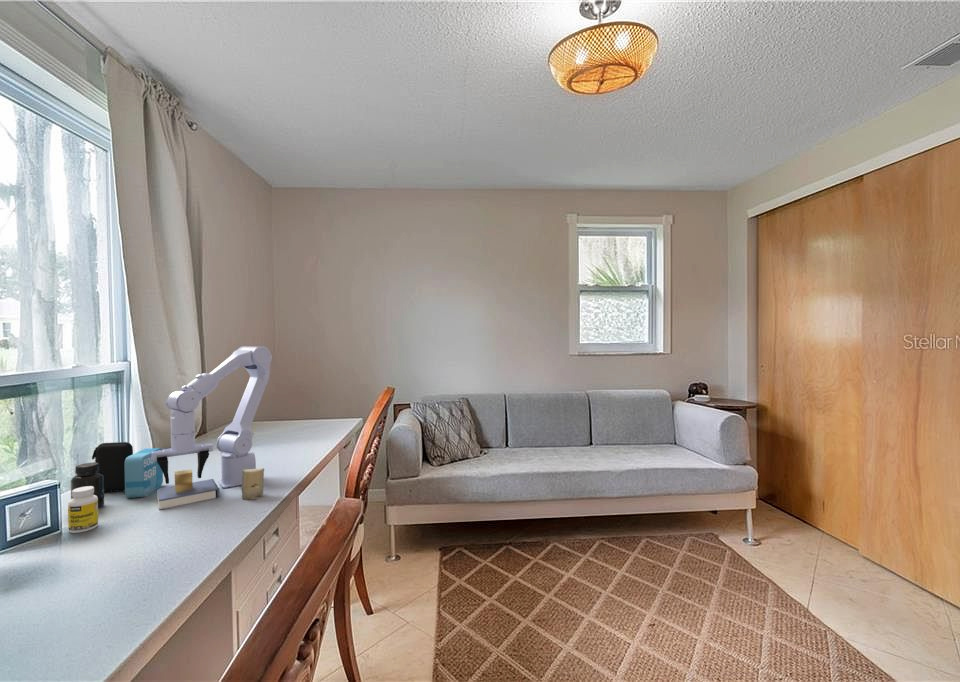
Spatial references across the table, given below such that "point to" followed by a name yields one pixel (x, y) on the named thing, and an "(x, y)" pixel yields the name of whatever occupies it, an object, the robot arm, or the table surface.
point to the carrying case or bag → (113, 463)
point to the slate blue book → (187, 494)
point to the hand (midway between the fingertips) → (183, 480)
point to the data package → (142, 474)
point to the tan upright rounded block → (252, 483)
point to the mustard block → (183, 481)
